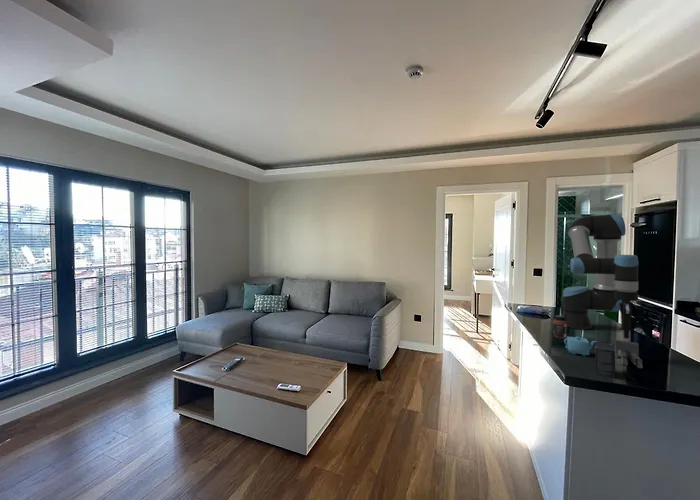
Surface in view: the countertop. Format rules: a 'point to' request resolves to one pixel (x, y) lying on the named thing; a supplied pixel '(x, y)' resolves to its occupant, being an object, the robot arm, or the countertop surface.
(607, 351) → the box
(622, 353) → the tongs fixed
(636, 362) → the tongs jaw
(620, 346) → the collar
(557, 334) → the supplement bottle
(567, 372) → the countertop surface
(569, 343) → the blue teapot
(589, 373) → the countertop surface
